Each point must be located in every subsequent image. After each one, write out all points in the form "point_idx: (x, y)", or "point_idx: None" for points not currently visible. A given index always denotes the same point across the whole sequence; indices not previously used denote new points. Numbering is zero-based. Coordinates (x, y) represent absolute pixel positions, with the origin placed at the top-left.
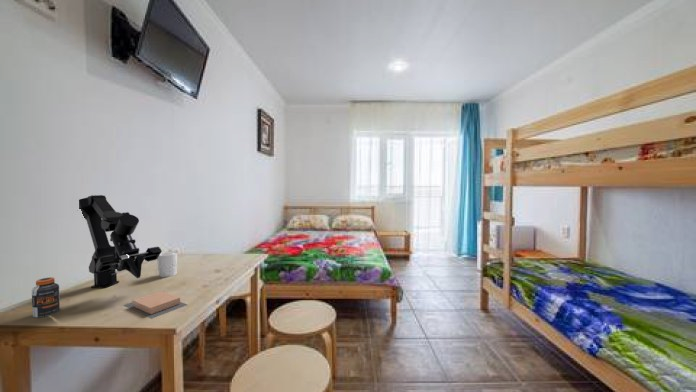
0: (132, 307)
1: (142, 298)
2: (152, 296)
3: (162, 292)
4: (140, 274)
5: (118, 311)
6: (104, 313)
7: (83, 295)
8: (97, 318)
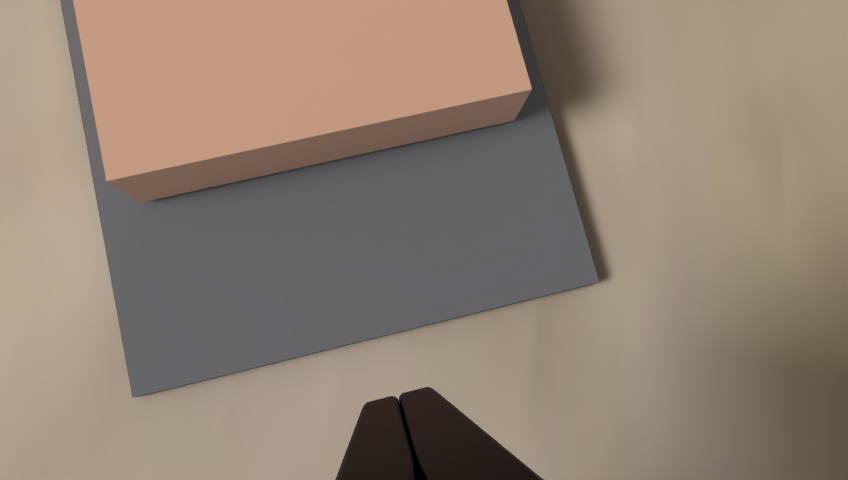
0: None
1: (410, 48)
2: (283, 22)
3: (119, 92)
4: (361, 430)
5: (651, 141)
6: (782, 201)
7: None
8: (840, 97)
